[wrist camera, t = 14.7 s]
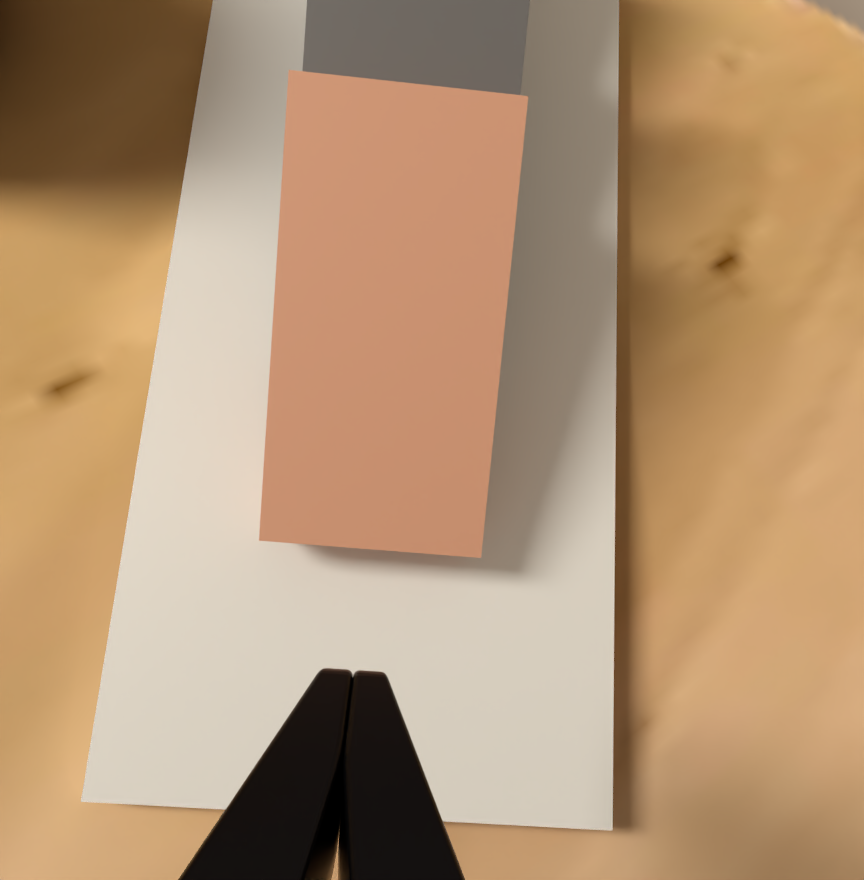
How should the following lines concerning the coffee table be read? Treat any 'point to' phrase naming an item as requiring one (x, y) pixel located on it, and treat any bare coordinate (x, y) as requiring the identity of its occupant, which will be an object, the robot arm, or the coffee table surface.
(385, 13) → the domino
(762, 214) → the coffee table surface
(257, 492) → the domino board
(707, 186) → the coffee table surface
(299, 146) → the domino
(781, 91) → the coffee table surface
